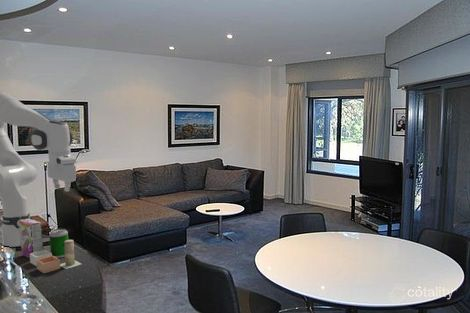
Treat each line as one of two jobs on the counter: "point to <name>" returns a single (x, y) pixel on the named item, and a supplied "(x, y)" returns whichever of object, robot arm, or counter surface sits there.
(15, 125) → the robot arm
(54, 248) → the soda can
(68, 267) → the coaster
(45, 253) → the light grey square bin
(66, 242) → the beech peg
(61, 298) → the counter surface
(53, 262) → the orange square socket block
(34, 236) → the candy bar box
